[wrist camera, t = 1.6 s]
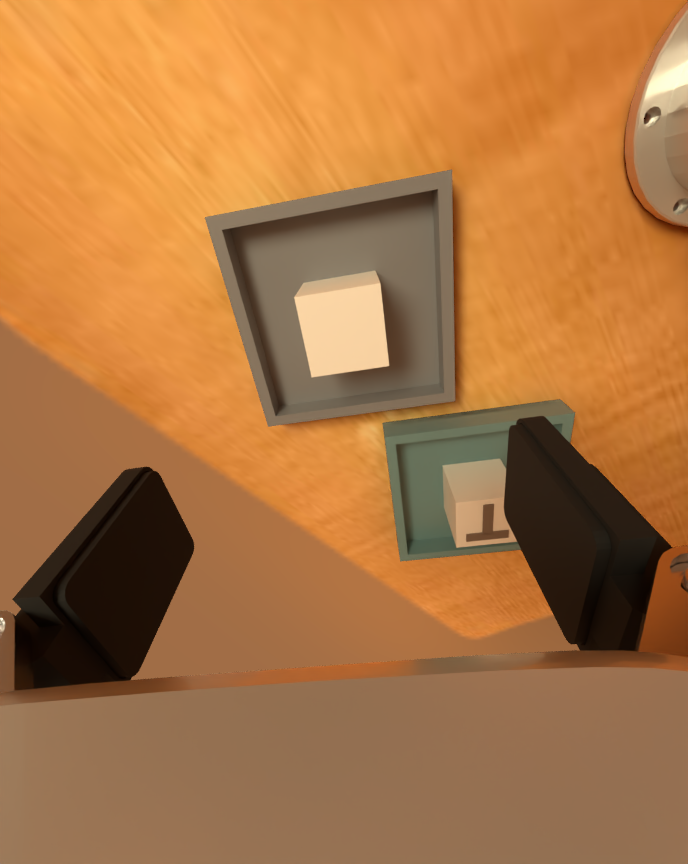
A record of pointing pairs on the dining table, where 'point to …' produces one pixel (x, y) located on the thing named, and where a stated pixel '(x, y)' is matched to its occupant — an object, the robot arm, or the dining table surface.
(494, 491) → the letter cube
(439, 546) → the teal tray
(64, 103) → the dining table surface
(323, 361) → the blank cube
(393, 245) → the charcoal tray
